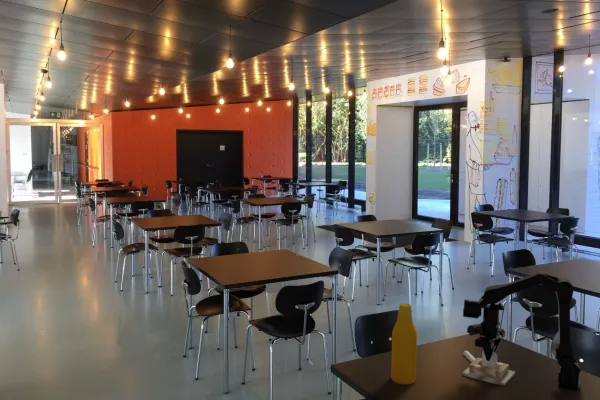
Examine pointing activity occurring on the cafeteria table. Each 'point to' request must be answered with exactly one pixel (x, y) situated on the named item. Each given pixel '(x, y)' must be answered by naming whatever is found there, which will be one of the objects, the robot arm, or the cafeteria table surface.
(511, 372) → the collar block
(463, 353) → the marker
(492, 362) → the eye dropper bottle
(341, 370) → the cafeteria table surface
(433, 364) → the cafeteria table surface
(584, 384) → the cafeteria table surface
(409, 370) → the beer bottle
